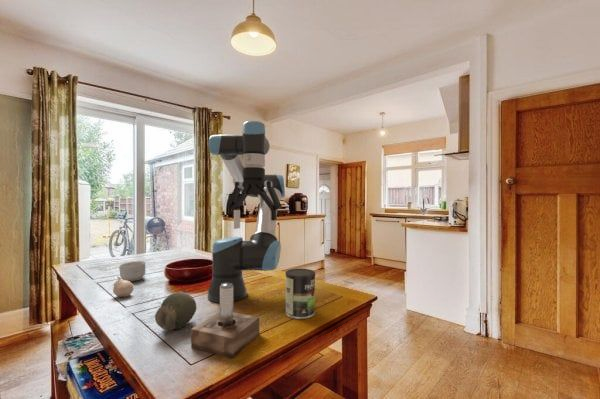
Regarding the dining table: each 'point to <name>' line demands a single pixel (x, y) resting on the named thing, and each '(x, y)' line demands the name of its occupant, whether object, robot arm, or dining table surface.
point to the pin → (226, 304)
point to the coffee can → (300, 293)
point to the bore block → (225, 335)
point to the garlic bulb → (122, 288)
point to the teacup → (132, 270)
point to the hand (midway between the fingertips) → (253, 229)
